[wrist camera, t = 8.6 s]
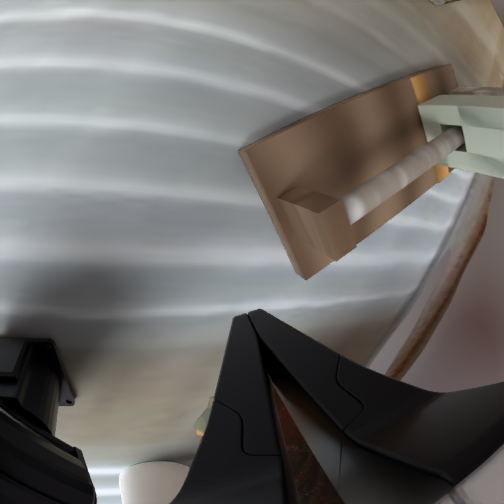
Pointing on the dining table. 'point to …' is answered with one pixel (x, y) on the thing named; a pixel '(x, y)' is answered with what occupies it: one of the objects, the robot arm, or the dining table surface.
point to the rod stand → (353, 166)
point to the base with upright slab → (152, 482)
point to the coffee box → (442, 1)
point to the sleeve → (469, 130)
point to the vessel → (295, 458)
